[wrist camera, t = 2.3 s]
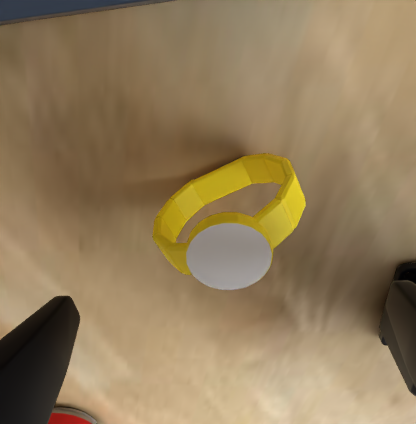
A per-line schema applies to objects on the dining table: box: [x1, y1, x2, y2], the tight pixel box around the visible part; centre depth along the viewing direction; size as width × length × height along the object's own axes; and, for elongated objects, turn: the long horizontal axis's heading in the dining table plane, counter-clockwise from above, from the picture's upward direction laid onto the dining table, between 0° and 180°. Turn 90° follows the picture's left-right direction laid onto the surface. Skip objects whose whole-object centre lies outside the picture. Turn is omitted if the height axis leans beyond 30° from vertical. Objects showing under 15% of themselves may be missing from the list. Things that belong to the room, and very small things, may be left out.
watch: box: [152, 153, 306, 290], centre depth 13 cm, size 6×3×6 cm, turn 117°
